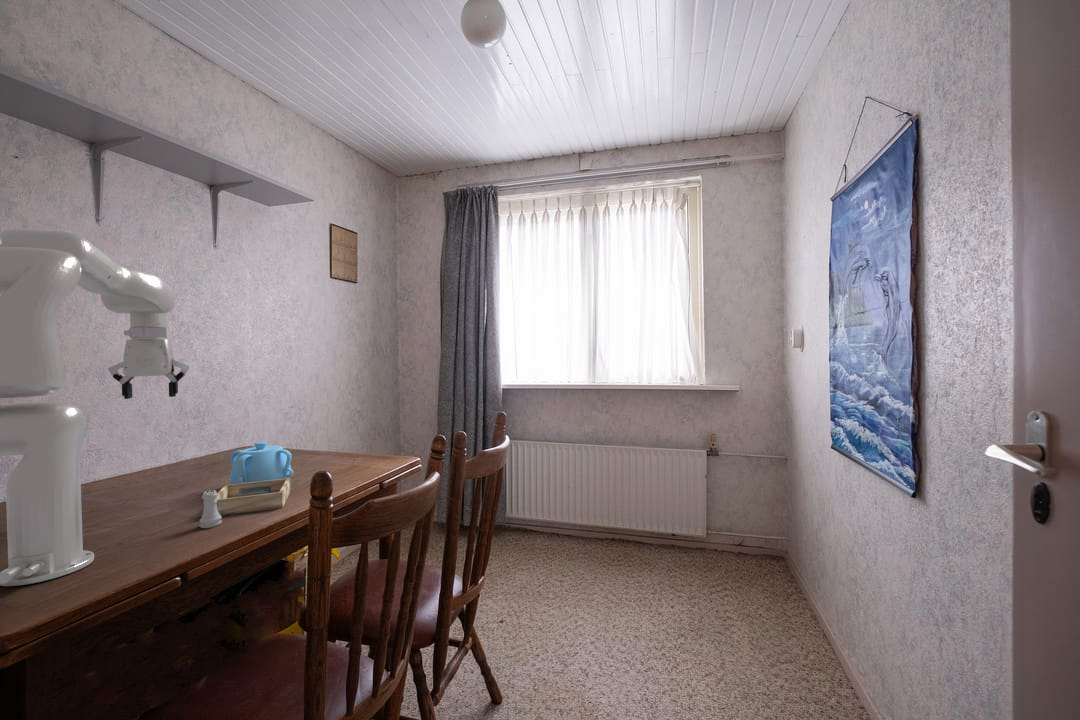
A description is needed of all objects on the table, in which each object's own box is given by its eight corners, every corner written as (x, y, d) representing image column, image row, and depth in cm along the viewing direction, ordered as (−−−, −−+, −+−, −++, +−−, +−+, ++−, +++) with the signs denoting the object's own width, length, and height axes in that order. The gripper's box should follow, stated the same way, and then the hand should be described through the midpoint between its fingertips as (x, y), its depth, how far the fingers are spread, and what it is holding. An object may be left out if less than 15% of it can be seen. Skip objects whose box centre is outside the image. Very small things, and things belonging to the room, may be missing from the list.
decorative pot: (229, 485, 144) (227, 442, 144) (287, 476, 153) (286, 435, 153) (231, 497, 131) (229, 450, 130) (295, 487, 140) (293, 442, 140)
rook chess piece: (227, 522, 110) (226, 489, 110) (209, 529, 106) (208, 494, 106) (212, 521, 111) (211, 488, 111) (194, 528, 107) (193, 493, 107)
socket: (266, 503, 122) (266, 491, 122) (233, 507, 120) (232, 495, 120) (271, 495, 130) (271, 484, 129) (240, 499, 127) (239, 488, 127)
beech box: (282, 507, 120) (282, 492, 120) (209, 517, 114) (208, 501, 114) (290, 491, 135) (290, 478, 135) (226, 499, 129) (225, 484, 129)
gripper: (101, 334, 119) (103, 400, 119) (183, 333, 125) (185, 396, 125) (114, 335, 125) (116, 398, 126) (191, 335, 132) (193, 394, 132)
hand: (150, 397), depth 125 cm, fingers open, 9 cm apart
